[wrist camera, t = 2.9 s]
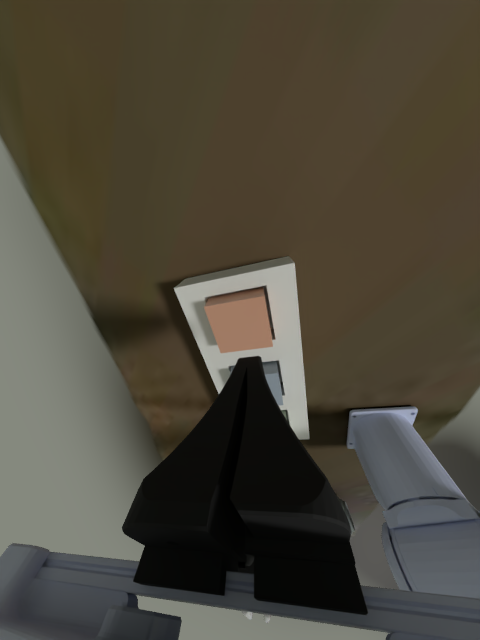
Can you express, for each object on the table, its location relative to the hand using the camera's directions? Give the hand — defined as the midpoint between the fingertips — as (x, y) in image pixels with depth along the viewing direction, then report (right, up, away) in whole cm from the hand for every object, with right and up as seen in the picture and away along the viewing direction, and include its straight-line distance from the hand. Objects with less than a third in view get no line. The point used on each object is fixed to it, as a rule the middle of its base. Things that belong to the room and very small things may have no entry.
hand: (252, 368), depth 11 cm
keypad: (+1, -2, +11) cm, 12 cm away
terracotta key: (-1, +3, +6) cm, 7 cm away
